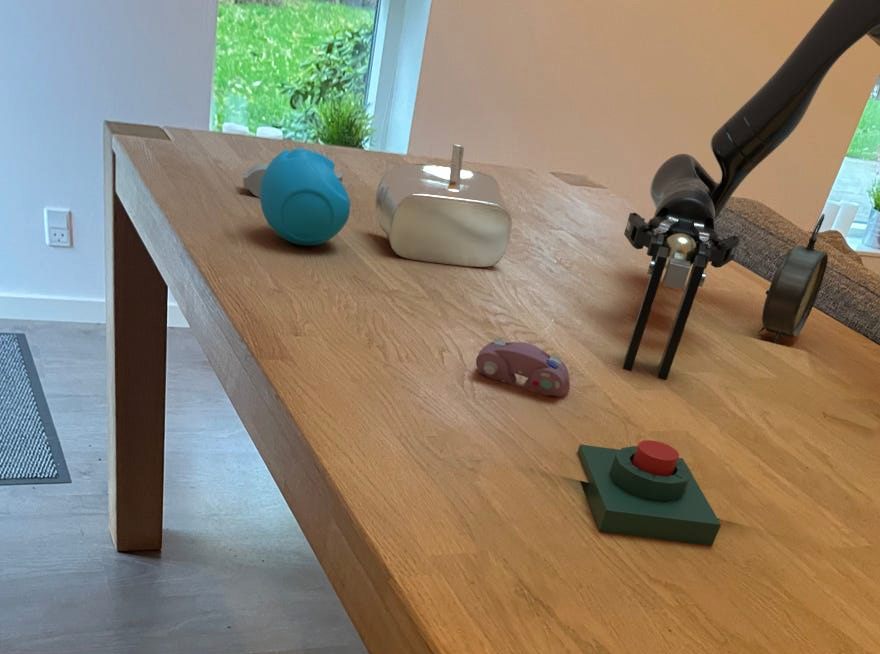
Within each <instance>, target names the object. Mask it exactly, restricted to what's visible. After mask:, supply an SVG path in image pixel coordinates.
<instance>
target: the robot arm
mask: <svg viewBox="0 0 880 654" xmlns="http://www.w3.org/2000/svg"><path fill="white" fill-rule="evenodd" d="M866 35H867V37H869V38H870V39H871V40H872V41H873V42H874V43H875V44H876V45H877V46H878V47H880V0H832V2H830V4H829V6H828V7H826V9H825V10H824V12H823V13H822V14H821V15H820V17H819V18H818V19H817V20H816V21H815V22H814V24H813V25H812V26H811V28H810V29H809V31H808V32H807V33H806V34H805V35H804V36H803V38H802V40H800V42H799V43H798V44H797V45H796V47H795V48H794V50H793V51H792V52H791V54H790V55H789V56H788V57H787V58H786V59H785V61H784V62H783V63H782V64H781V66H780V67H778V69H777V70H776V72H775V73H774V74H772V76H771V77H770V78H769V79H768V80H767V81H766V82H765V83H764V85H762V86H761V87H760V89H758V90H757V91H756V93H755V94H753V95H752V96H751V97H750V98H749V99H748V100H747V101H746V102H745V103H744V104H743V105H742V106H741V107H740V108H739V109H738V110H737V111H736V112H735V113H734V114H732V116H731V117H730V118H729V119H727V120H726V122H725V123H723V124H722V126H720V127H719V129H717V130H716V131H715V133H714V134H713V135H712V137H711V138H710V139H711V140H710V149H711V151H712V154H713V156H714V158H715V160H716V162H717V164H718V166H719V169H720V172H721V178H720V180H718V182H717V181H716V180H715V179H714V178H713V177H712V176H711V175H710V174H709V172H708V171H707V170H706V169H705V168H704V167H703V166H702V164H701V163H700V162H699V161H698V160H697V159H696V158H695V157H694V156H693V155H690V154H688V153H678V154H674V155H673V156H671V157H670V158H668V159H667V160H665V161H664V162H663V163H662V164H661V165H660V166H659V167H658V169H657V170H656V172H655V174H654V176H653V178H652V181H651V183H650V187H649V188H650V189H649V190H650V191H649V193H650V198H651V200H652V202H653V204H654V207H655V208H656V209H655V211H654V214H653V217H651V218H649V220H648V221H645V220H646V218H645V217H642V216H641V215H640V214H638V213H637V212H630V213H629V215H628V219H627V221H626V226H625V229H624V233H623V235H624V236H625V238H626V239H627V240H628V243H630V245H631V246H632V247H633V248H634V249H636V250H642V249H644V247H645V248H647V250H646V256H649V257H651V259H650V261H651V260H653V261H655V259H656V256H657V253H658V250H659V247H660V246H661V247H662V244H663V242H664V241H665V240H666V239H667V238H668V237H670V236H671V235H674V234H677V233H683V234H687V235H689V236H690V237H691V238H693V240H694V241H695V243H696V246H697V255H698V256H703V257H705V269H707V267H708V264H709V263H710V266H711V267H713V268H716V269H717V268H722V267H723V266H725V265H727V264H729V262H731V261H733V260H734V257H735V256H736V252H737V250H738V246H739V244H740V241H741V238H740V237H738V236H737V235H730V236H724V237H723V239H721V238H719V234H718V233H717V231H715V225H716V224H715V223H716V222H715V221H716V220H717V218H718V217H719V216H720V214H721V212H722V211H723V209H724V208H725V206H726V205H727V204H728V202H729V200H730V198H731V197H732V196H733V194H734V193H735V191H736V190H737V189H738V188H739V186H740V185H741V183H742V182H744V180H745V179H746V178H747V177H748V175H750V173H752V172H753V170H754V169H755V168H756V167H758V166H759V164H761V163H763V161H764V160H765V159H766V158H768V157H769V156H770V155H771V154H772V153H773V152H774V151H775V150H776V149H778V147H780V146H781V145H782V144H783V143H784V142H785V141H786V140H787V139H788V138H790V136H791V135H792V134H793V132H795V130H796V129H797V127H798V126H799V125H800V123H801V121H802V120H803V118H804V117H805V115H806V113H807V111H808V109H809V107H810V106H811V103H812V101H813V99H814V97H815V95H816V94H817V91H818V89H819V87H820V86H821V84H822V82H823V81H824V79H825V78H826V76H827V74H828V73H829V71H830V70H831V68H833V66H834V65H835V64H836V63H837V61H838V60H839V59H840V58H841V57H842V56H843V55H844V54H845V53H846V51H848V50H849V49H850V48H851V47H853V46H854V45H855V44H856V43H857V42H859V41H860V40H861V39H862V38H864V37H865V36H866Z"/></svg>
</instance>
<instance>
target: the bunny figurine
mask: <svg viewBox="0 0 880 654" xmlns="http://www.w3.org/2000/svg"><path fill="white" fill-rule="evenodd" d="M268 165H269V163H267V162H258V163H255V164H254V165H252V167H250V168H249V169H248V170H243V176H242V181H243V189H245V190H246V189H247V190H249V191H250V193H251V194H252V195H254V196H256V197H257V198H258V199H259V198H260V187H261V181H262V178H263V175H264V173H265V171H266V169H267V167H268ZM334 173H335V175H336V176H337V178H338V179H339V180H340V182H341V183H342V185H343V187H344V188H345V189H346V183H344V182H343V181H344V180H343V179H344V174H343V173H340V172H337V171H336V172H335V171H334Z"/></svg>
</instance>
